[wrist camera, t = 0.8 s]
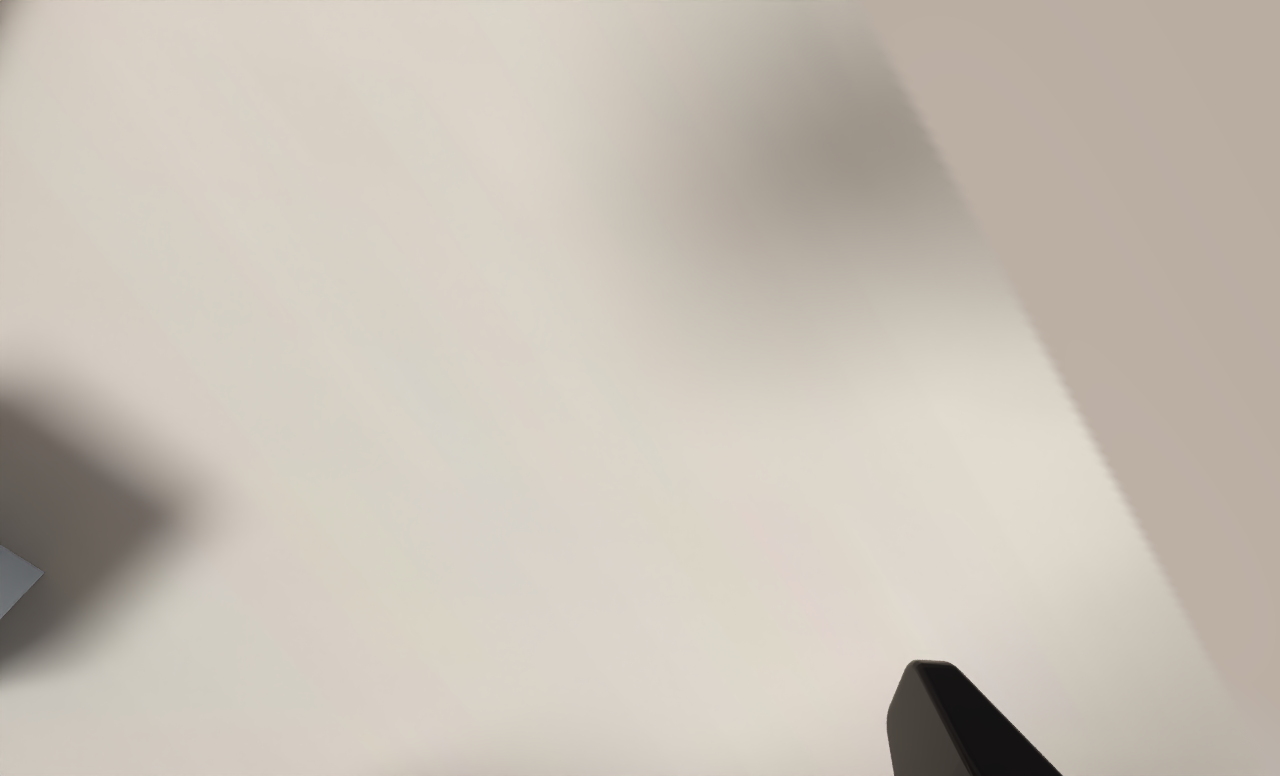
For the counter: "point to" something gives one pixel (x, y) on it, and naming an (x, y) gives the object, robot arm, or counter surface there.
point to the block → (14, 578)
